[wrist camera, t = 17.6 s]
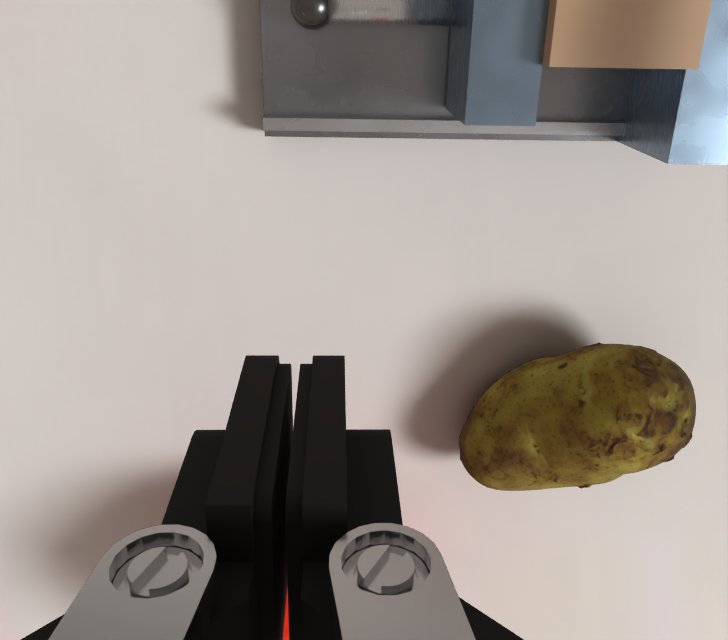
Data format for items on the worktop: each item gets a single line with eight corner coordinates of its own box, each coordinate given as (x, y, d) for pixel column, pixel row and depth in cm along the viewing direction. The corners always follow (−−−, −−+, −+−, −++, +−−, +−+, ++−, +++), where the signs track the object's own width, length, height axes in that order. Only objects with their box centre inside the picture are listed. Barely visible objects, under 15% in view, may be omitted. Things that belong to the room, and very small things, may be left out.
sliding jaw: (293, 106, 34) (285, 122, 29) (289, -107, 30) (279, -133, 25) (505, 109, 34) (535, 126, 29) (525, -100, 31) (564, -124, 26)
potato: (434, 354, 42) (454, 425, 34) (646, 302, 41) (713, 364, 34) (460, 464, 45) (484, 551, 38) (657, 418, 44) (721, 498, 37)
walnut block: (509, 57, 34) (549, 66, 27) (517, -35, 32) (562, -48, 26) (630, 59, 34) (697, 69, 28) (644, -32, 32) (720, -44, 26)
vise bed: (267, 131, 36) (251, 158, 29) (258, -140, 31) (235, -184, 24) (661, 137, 37) (735, 164, 30) (711, -127, 32) (812, -165, 25)
